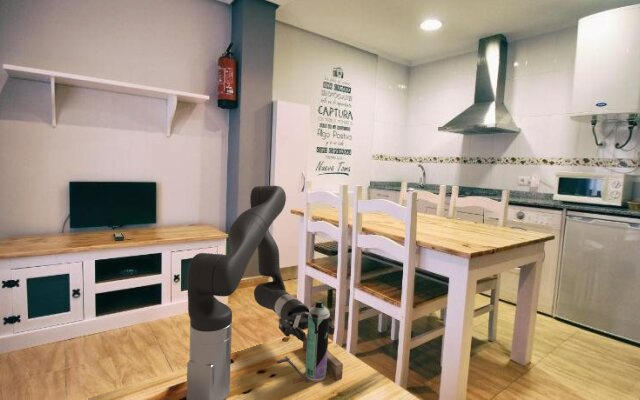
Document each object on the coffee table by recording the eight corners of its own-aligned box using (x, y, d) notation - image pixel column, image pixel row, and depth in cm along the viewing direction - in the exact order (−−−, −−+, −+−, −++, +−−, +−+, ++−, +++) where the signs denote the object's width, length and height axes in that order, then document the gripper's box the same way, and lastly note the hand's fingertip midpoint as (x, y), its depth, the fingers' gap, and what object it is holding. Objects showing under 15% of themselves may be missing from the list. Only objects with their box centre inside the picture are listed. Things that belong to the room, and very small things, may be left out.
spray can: (326, 382, 89) (330, 306, 87) (304, 380, 89) (308, 305, 87) (326, 369, 94) (330, 298, 93) (305, 368, 94) (309, 296, 93)
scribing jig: (342, 378, 91) (342, 363, 91) (301, 391, 85) (302, 375, 84) (308, 346, 106) (309, 333, 106) (271, 355, 100) (272, 342, 100)
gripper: (269, 302, 100) (295, 325, 86) (312, 295, 107) (342, 315, 93) (268, 327, 101) (293, 354, 87) (311, 318, 108) (341, 342, 94)
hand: (319, 334), depth 90 cm, fingers open, 8 cm apart
